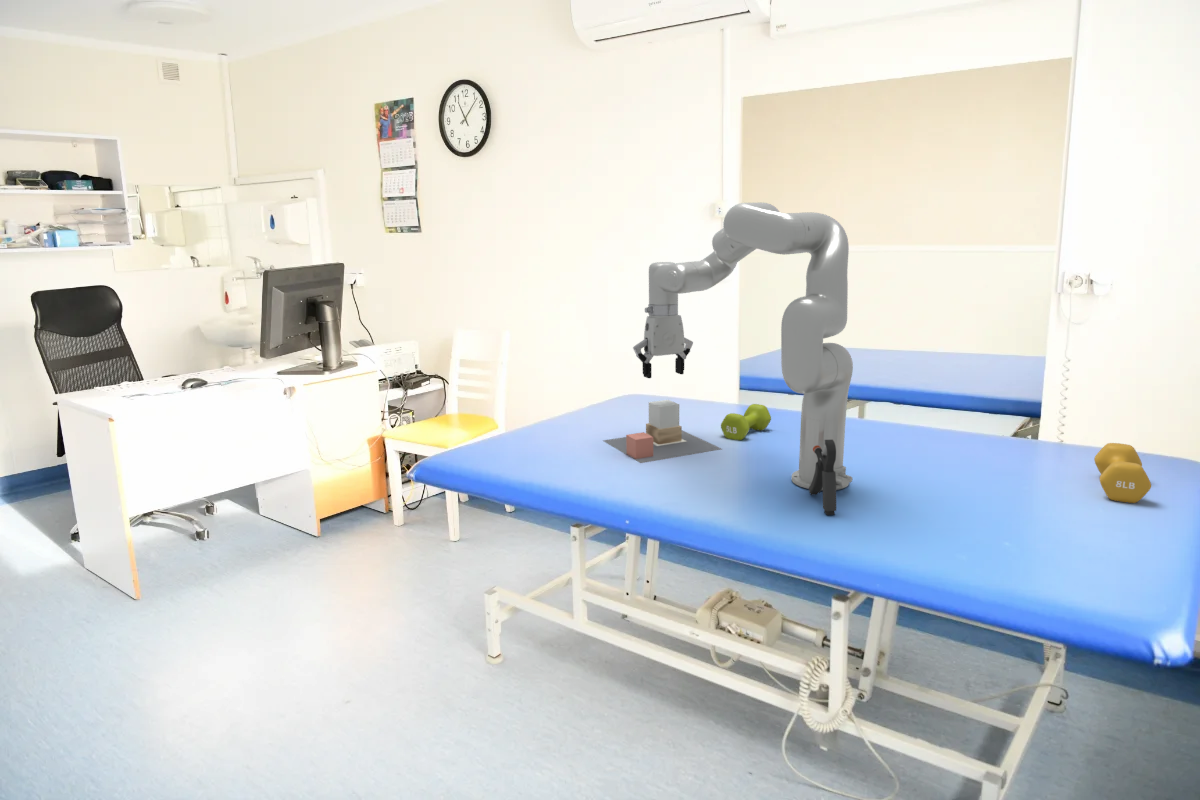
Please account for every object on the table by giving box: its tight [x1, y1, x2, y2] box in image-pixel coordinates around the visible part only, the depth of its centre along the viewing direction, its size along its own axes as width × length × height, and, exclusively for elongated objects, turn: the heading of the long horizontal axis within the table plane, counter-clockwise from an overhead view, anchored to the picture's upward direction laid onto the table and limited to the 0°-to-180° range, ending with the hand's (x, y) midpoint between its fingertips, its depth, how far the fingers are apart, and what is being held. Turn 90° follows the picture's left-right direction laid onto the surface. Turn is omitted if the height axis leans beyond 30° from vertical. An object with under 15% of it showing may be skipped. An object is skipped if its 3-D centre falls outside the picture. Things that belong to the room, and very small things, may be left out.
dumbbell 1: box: [720, 403, 772, 441], centre depth 213 cm, size 16×8×7 cm, turn 140°
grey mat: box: [602, 430, 723, 464], centre depth 204 cm, size 22×24×1 cm
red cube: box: [625, 431, 653, 459], centre depth 196 cm, size 5×5×5 cm
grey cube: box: [648, 399, 680, 429], centre depth 207 cm, size 6×6×6 cm
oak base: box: [645, 422, 683, 444], centre depth 209 cm, size 7×7×4 cm
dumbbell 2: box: [1093, 442, 1152, 504], centre depth 167 cm, size 19×9×8 cm, turn 151°
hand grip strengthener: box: [808, 440, 837, 516], centre depth 160 cm, size 2×12×15 cm, turn 2°
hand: (663, 375), depth 205 cm, fingers open, 9 cm apart
